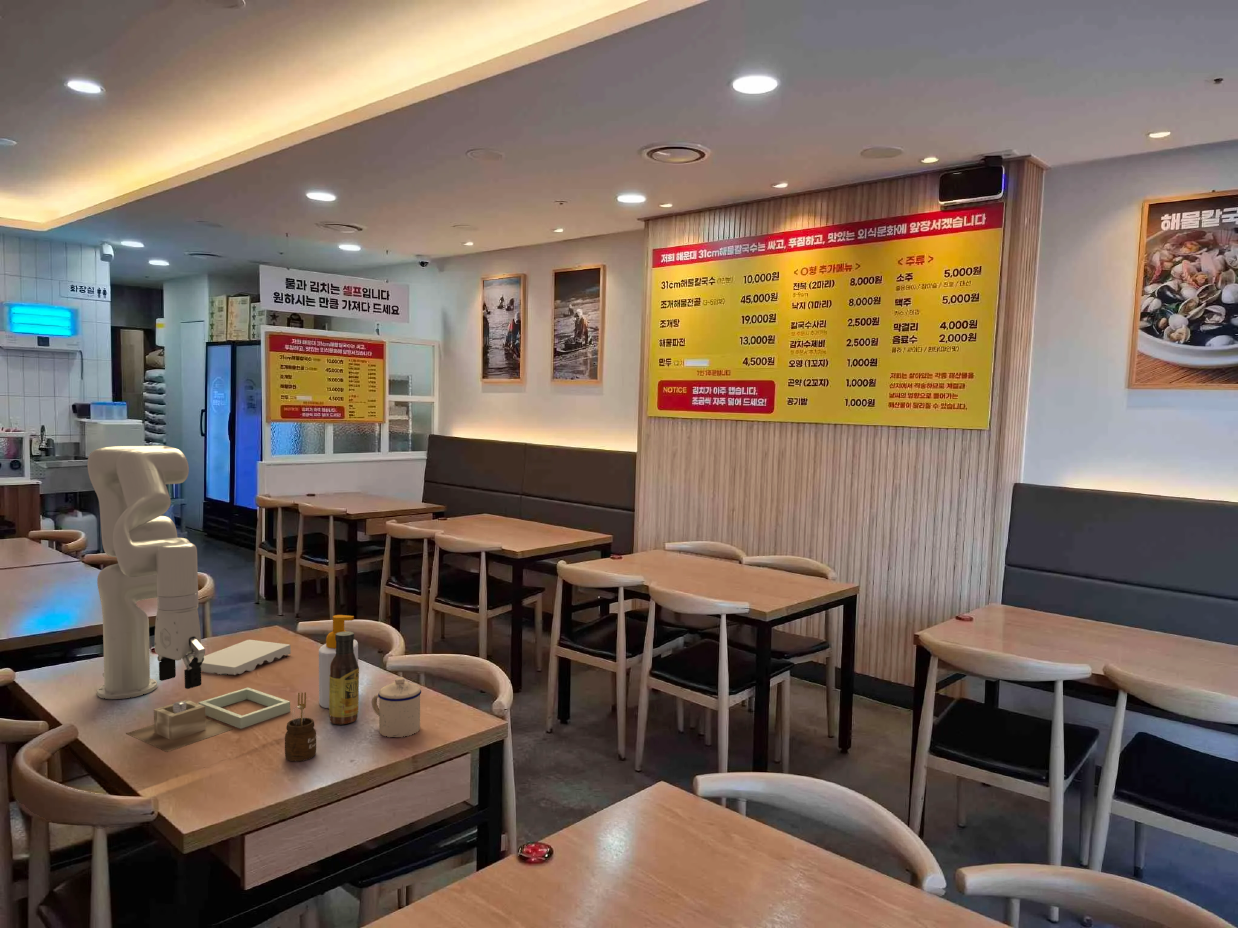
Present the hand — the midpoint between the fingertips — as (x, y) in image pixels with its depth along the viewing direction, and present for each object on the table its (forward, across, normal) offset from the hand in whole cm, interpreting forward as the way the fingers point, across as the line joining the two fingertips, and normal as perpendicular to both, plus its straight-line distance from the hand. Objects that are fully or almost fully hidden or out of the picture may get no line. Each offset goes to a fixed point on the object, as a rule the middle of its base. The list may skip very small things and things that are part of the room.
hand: (180, 682), depth 169 cm
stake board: (+12, -1, 0) cm, 12 cm away
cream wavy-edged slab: (+12, -37, +37) cm, 54 cm away
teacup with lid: (+13, +32, +29) cm, 45 cm away
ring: (+10, -1, 0) cm, 11 cm away
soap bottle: (+12, +7, +34) cm, 37 cm away
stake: (+11, -1, 0) cm, 11 cm away
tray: (+12, 0, +14) cm, 19 cm away
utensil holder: (+13, +27, +9) cm, 31 cm away
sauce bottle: (+13, +19, +26) cm, 35 cm away
